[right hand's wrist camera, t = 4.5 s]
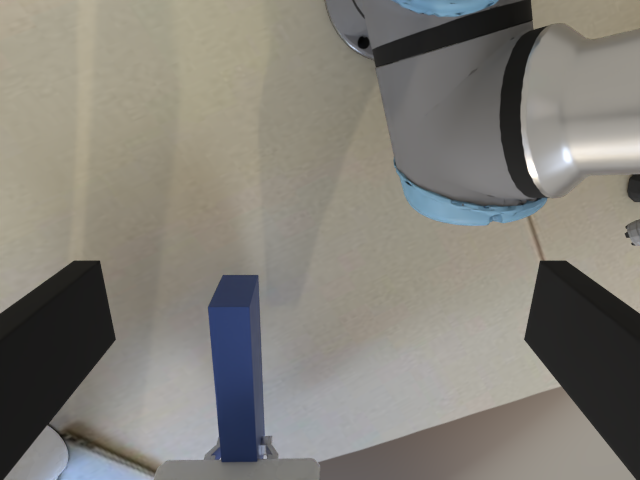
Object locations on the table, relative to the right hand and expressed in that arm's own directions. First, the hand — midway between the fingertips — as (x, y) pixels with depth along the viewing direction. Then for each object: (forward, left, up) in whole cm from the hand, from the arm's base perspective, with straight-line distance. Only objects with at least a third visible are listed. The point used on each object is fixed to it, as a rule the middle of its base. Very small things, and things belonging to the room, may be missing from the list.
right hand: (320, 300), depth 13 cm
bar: (+18, +26, -36) cm, 48 cm away
